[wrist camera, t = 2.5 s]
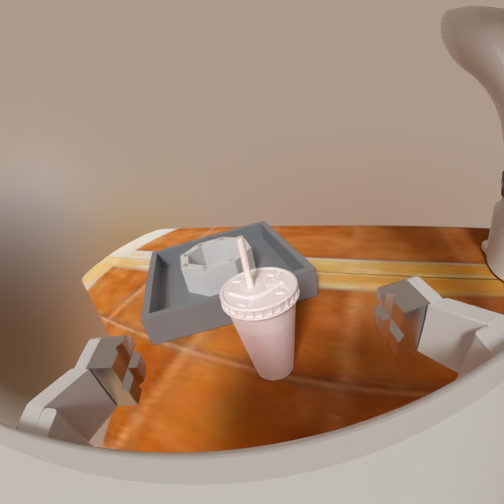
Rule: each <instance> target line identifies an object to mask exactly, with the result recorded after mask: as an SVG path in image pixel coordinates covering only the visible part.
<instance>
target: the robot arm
mask: <svg viewBox="0 0 504 504" xmlns="http://www.w3.org/2000/svg"><path fill="white" fill-rule="evenodd" d="M441 34H442V38H443V42H444V44H445V46H446V49H447V50H448V52H449V54H450V55H451V56H452V58H453V59H454V60H455V61H456V63H458V64H459V65H460V66H461V67H462V68H463V69H464V70H466V71H467V72H469V73H470V74H471V75H473V76H474V77H475V78H476V79H477V80H478V81H479V82H480V83H481V84H482V86H483V87H484V88H485V89H486V91H487V92H488V94H489V95H490V97H491V98H492V100H493V102H494V104H495V106H496V109H497V111H498V114H499V117H500V121H501V126H502V132H503V140H504V9H502V8H494V7H482V6H466V7H461V8H456V9H452V10H447V11H446V12H445V14H444V16H443V18H442V22H441ZM501 185H502V189H501V195H502V196H503V197H502V199H501V200H500V201H499V202H497V203H496V204H495V206H494V211H493V217H492V222H491V228H490V233H489V238H488V240H485V241H483V242H482V245H481V249H482V250H483V252H484V253H485V254H486V259H487V264H488V266H489V268H490V269H491V270H492V272H493V273H494V274H495V275H496V276H498V277H499V278H500V279H501V280H503V281H504V171H503V173H502V181H501ZM376 300H377V301H378V302H379V304H378V305H377V307H376V308H375V315H374V319H375V324H376V327H377V330H378V332H379V333H380V335H381V336H383V337H385V338H388V340H387V345H388V347H389V348H390V350H391V351H392V353H393V354H394V356H395V357H398V356H401V355H404V354H407V353H409V352H412V351H415V350H417V351H418V352H420V353H422V354H424V355H426V356H428V357H429V358H431V359H433V360H435V361H437V362H438V363H440V364H442V365H444V366H446V367H448V368H449V369H451V370H453V371H455V372H457V373H459V374H458V376H457V378H456V380H455V381H453V382H452V383H450V384H448V385H446V386H444V387H442V388H440V389H438V390H436V391H434V392H432V393H430V394H428V395H426V396H424V397H422V398H420V399H418V400H415V401H413V402H411V403H409V404H406V405H404V406H402V407H399V408H397V409H394V410H392V411H389V412H387V413H384V414H382V415H379V416H376V417H374V418H371V419H368V420H365V421H362V422H359V423H356V424H353V425H350V426H347V427H343V428H340V429H337V430H333V431H329V432H326V433H322V434H318V435H314V436H310V437H306V438H301V439H297V440H292V441H287V442H282V443H276V444H270V445H264V446H257V447H250V448H242V449H233V450H223V451H209V452H182V453H166V452H140V451H126V450H116V449H107V448H100V447H93V446H92V445H91V444H90V443H89V440H90V439H91V438H92V437H93V436H94V434H95V433H96V432H97V430H98V429H99V428H100V427H101V426H102V425H103V423H104V422H105V421H106V420H107V419H108V417H109V416H110V415H111V414H112V413H113V411H114V410H115V409H116V408H117V406H124V405H138V404H139V400H140V396H141V392H142V389H141V388H140V386H139V385H140V384H141V383H142V382H143V381H144V380H145V376H146V367H145V363H144V360H143V358H142V356H141V354H140V353H138V352H137V351H135V350H134V348H135V343H134V341H133V340H132V338H131V337H130V336H128V335H125V336H112V337H103V338H102V337H100V338H92V339H90V340H89V342H88V343H87V345H86V347H85V349H84V351H83V353H82V355H81V356H80V358H79V361H78V362H77V364H76V366H75V368H74V369H70V370H69V371H68V372H67V373H66V374H64V375H63V376H61V377H60V378H59V379H58V380H57V381H55V382H54V383H53V384H51V385H50V386H49V387H48V388H46V389H45V390H44V391H43V392H41V393H40V394H39V395H38V396H36V397H35V398H34V399H33V400H31V401H30V402H29V403H28V404H27V406H26V408H25V410H24V412H23V414H22V417H21V419H20V421H19V423H18V426H17V427H16V428H14V427H11V426H8V425H5V424H3V423H0V504H504V315H503V314H499V313H496V312H493V311H489V310H486V309H483V308H479V307H476V306H473V305H469V304H466V303H463V302H459V301H456V300H453V299H449V298H445V299H443V298H442V297H441V296H440V295H439V294H438V293H436V292H435V291H434V290H433V289H432V288H431V287H430V286H429V285H428V284H426V283H425V282H424V281H423V280H422V279H421V278H420V277H418V276H413V277H410V278H407V279H404V280H402V281H399V282H395V283H392V284H389V285H385V286H382V287H378V288H377V291H376Z"/></svg>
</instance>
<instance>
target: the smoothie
mask: <svg viewBox="0 0 504 504" xmlns="http://www.w3.org/2000/svg"><path fill="white" fill-rule="evenodd" d="M236 241H237V245H238V249H239V254H240V258H241V262H242V267H243V271H244V272H242V273H239V274H237V275H235V276H234V277H232V278H231V279H229V280H228V281H227V282H226V283H225V284H224V285H223V287H222V288H221V290H220V294H219V295H220V300H221V305H222V308H223V311H224V312H225V313H226V314H228V315H229V316H230V317H231V319H232V321H233V324H234V326H235V328H236V330H237V332H238V334H239V336H240V338H241V340H242V342H243V344H244V346H245V348H246V350H247V352H248V354H249V356H250V358H251V360H252V362H253V364H254V366H255V368H256V370H257V372H258V374H259V375H260V376H261V377H262V378H264V379H266V380H280V379H283V378H285V377H286V376H288V375H289V374H290V373H291V372H292V370H293V367H294V345H295V313H296V301H297V299H298V298H299V293H300V290H299V287H298V281H297V278H296V277H295V275H294V274H293V273H291V272H290V271H288V270H285V269H282V268H277V267H261V268H255V269H250V264H249V260H248V255H247V251H246V246H245V242H244V237H243V236H238V237H236Z"/></svg>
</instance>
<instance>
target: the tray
mask: <svg viewBox="0 0 504 504" xmlns="http://www.w3.org/2000/svg"><path fill="white" fill-rule="evenodd" d="M238 236H243V237H244V242H245V246H246V251H247V255H248V260H249V264H250V269H255V268H261V267H277V268H282V269H285V270H288V271H290V272H291V273H293V274H294V275H295V277H296V278H297V281H298V287H299V290H300V293H299V298H298V299H297V301H296V303H297V302H300V301H302V300H305V299H308V298H311V297H314V296H317V295H318V288H317V276H316V268H315V267H314V266H313V265H312V264H311V263H309V262H308V261H307V260H306V259H305V258H304V257H303V256H302V255H301V254H300V253H299V252H298V251H296V250H295V249H294V248H293V247H292V246H291V245H290V244H289V243H288V242H287V241H286V240H284V239H283V238H282V237H281V236H280V235H279V234H278V233H277V232H276V231H275V230H273V229H272V228H271V227H270V226H269V225H268V224H267V223H266V222H265V221H262V222H258V223H254V224H251V225H247V226H243V227H240V228H236V229H232V230H229V231H225V232H221V233H218V234H214V235H211V236H207V237H203V238H200V239H196V240H193V241H189V242H186V243H182V244H179V245H176V246H172V247H169V248H165V249H162V250H159V251H155V252H152V257H151V262H150V267H149V272H148V278H147V283H146V289H145V295H144V302H143V308H142V315H141V322H142V324H143V326H144V328H145V330H146V332H147V334H148V336H149V338H150V339H151V341H152V343H153V345H154V344H158V343H162V342H166V341H170V340H174V339H178V338H182V337H185V336H189V335H193V334H197V333H200V332H204V331H207V330H211V329H214V328H218V327H221V326H225V325H228V324H231V323H233V321H232V319H231V317H230V316H229V315H228V314H226V313H225V312H224V311H223V308H222V305H221V300H220V295H219V294H220V290H221V288H222V287H223V285H224V284H225V283H226V282H227V281H228V280H229V279H231V278H232V277H234V276H235V275H237V274H239V273H242V272H244V271H243V267H242V262H241V258H240V254H239V249H238V245H237V241H236V237H238Z"/></svg>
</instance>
